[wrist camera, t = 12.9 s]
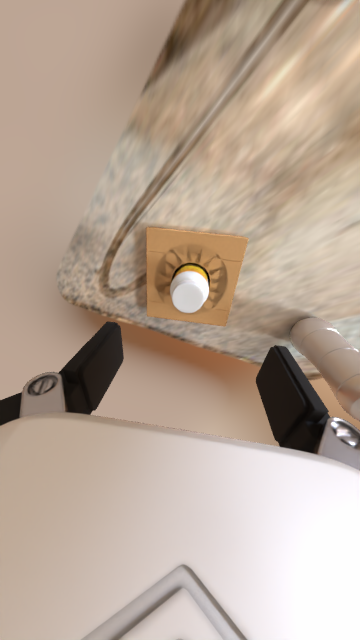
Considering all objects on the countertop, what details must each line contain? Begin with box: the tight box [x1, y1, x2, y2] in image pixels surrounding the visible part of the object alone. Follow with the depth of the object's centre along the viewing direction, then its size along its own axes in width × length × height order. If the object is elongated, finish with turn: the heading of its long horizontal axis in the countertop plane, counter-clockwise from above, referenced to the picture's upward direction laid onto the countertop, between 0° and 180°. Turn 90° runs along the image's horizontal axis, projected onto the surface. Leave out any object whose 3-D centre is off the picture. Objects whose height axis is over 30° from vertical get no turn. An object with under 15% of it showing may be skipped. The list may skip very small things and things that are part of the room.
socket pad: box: [146, 227, 248, 326], centre depth 28 cm, size 14×14×3 cm
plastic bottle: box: [290, 317, 360, 421], centre depth 23 cm, size 6×7×20 cm
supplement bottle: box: [170, 263, 209, 313], centre depth 25 cm, size 5×5×10 cm
